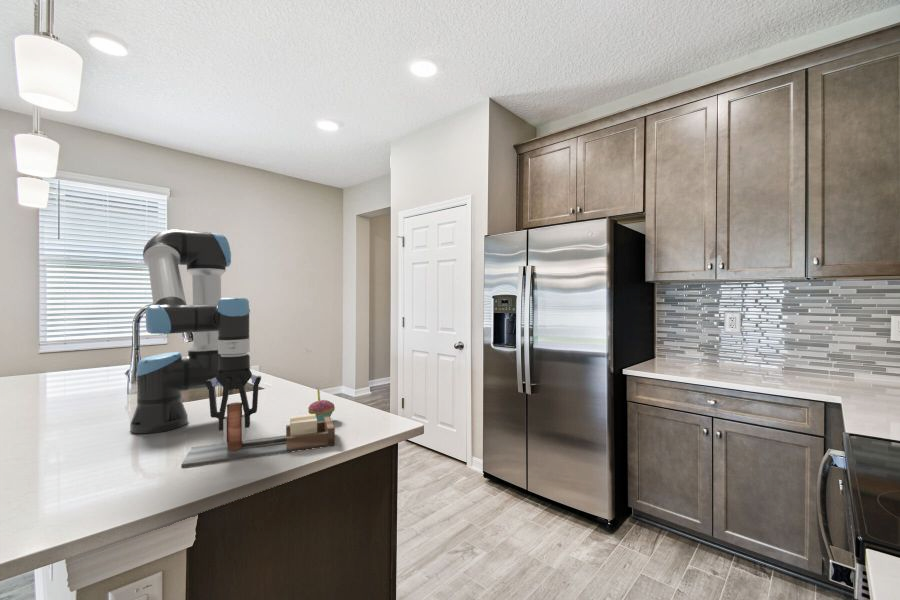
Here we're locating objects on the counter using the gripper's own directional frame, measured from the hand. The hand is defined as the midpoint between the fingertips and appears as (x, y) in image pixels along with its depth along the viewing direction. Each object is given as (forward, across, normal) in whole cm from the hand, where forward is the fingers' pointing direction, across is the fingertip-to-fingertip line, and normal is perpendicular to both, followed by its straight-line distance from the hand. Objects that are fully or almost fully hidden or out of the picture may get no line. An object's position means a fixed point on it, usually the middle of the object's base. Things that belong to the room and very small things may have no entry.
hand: (234, 440), depth 108 cm
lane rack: (+3, +7, 0) cm, 8 cm away
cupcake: (+3, +24, +18) cm, 30 cm away
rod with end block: (+2, +10, 0) cm, 10 cm away
